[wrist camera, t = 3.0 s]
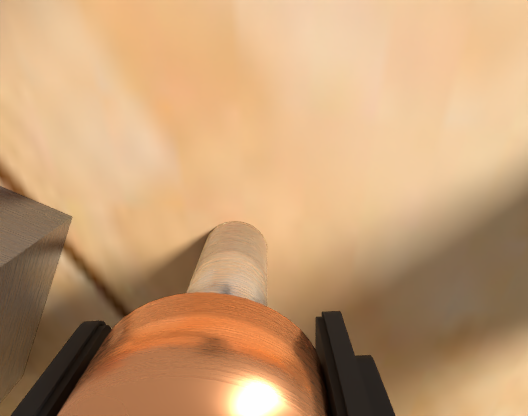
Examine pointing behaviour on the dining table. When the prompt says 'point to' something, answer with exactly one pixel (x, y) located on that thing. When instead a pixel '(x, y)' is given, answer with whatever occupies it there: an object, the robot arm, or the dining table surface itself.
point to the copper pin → (207, 347)
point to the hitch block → (25, 276)
